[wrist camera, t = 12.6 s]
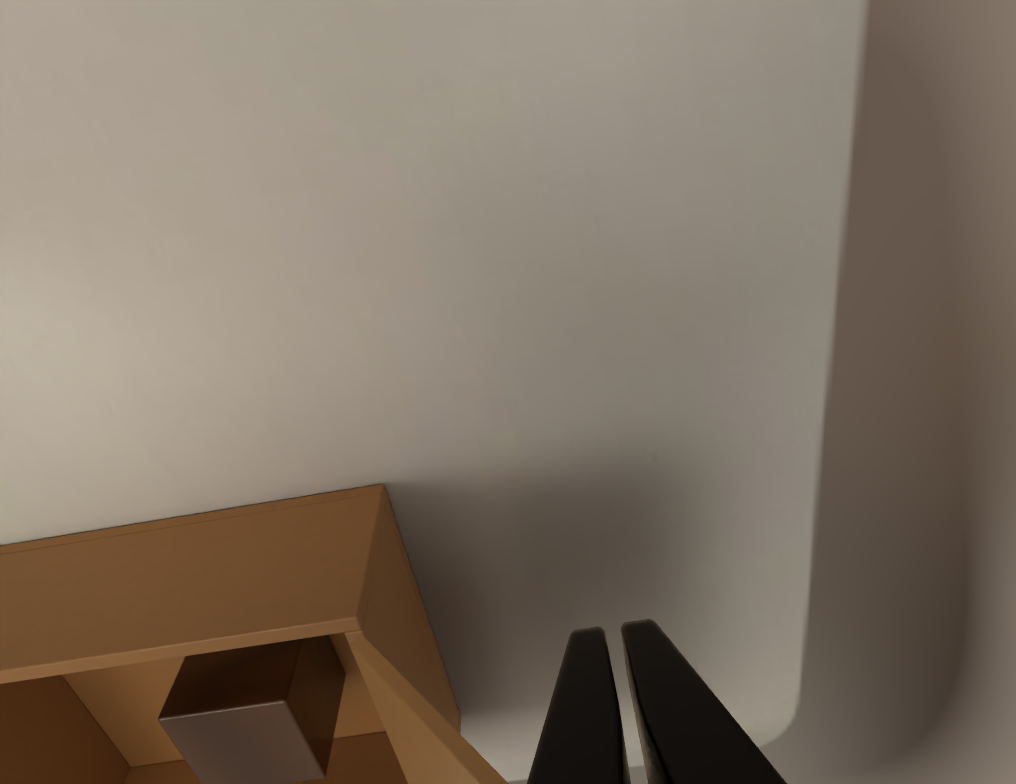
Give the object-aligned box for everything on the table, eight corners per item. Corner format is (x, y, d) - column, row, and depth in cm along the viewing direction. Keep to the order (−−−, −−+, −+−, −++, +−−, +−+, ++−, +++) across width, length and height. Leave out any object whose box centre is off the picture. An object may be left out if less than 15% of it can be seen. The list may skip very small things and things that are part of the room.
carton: (383, 482, 22) (357, 616, 18) (461, 717, 28) (457, 864, 24) (-30, 550, 23) (-161, 695, 18) (130, 763, 29) (62, 915, 24)
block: (313, 598, 24) (285, 700, 21) (347, 674, 26) (326, 779, 23) (201, 615, 24) (155, 719, 21) (243, 689, 26) (207, 795, 23)
